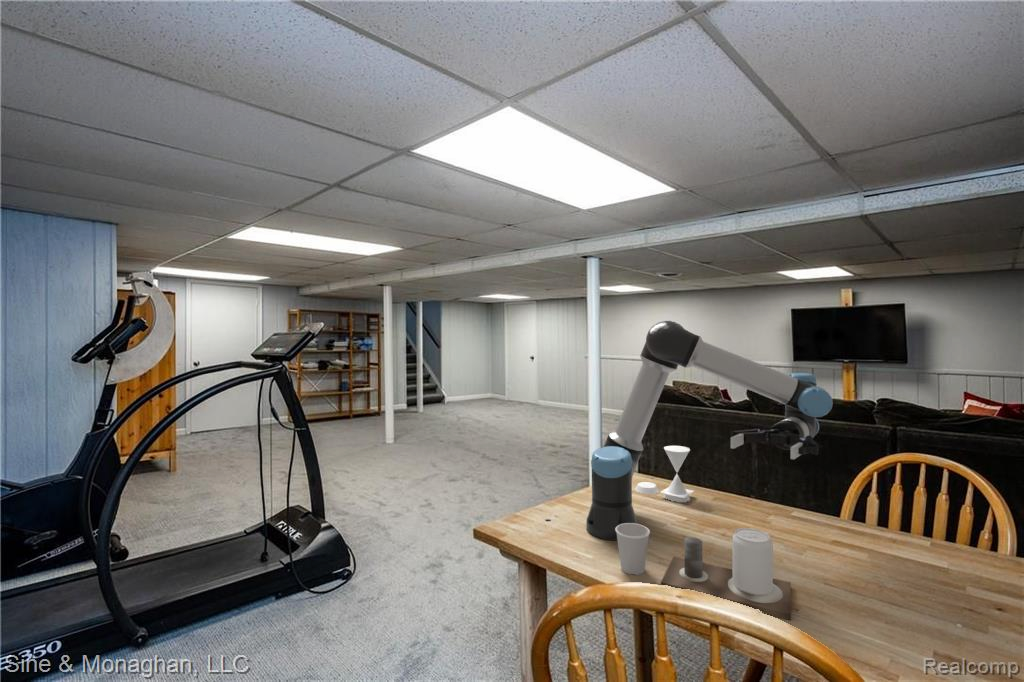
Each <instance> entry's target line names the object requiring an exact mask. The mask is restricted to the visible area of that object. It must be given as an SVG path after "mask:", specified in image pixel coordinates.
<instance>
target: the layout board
mask: <svg viewBox="0 0 1024 682" xmlns="http://www.w3.org/2000/svg"><path fill="white" fill-rule="evenodd" d="M683 541H684V549H683V550H684V558H683V557H678V556H673V557H672V559H671V561H670V563H669V565H668V567H667V569H666V571H665V573H664V575H663V577H662V579H661V581H660V586H661V585H668V586H671V587H675V588H681V589H690V590H695V591H698V592H703V593H706V594H710V595H713V596H716V597H720V598H723V599H727V600H730V601H733V602H737V603H740V604H743V605H746V606H749V607H752V608H754V609H759V610H760V611H762V612H764V613H767V614H766V615H768V614H769V615H768V616H773V617H776V618H780V619H784V620H788V621H791V620H792V612H791V611H792V599H791V598H792V588H791V587H792V582H790V581H787V580H783V579H778V578H773V590H772V591H771V592H770V593H768V594H764V595H754V594H750V593H747V592H744V591H742V590H740V589H739V588H737V587H736V586H735V585H734V583H733V580H732V568H729V567H723V566H719V565H714V564H709V563H705V562H703V561H704V560H703V540H701V539H700V538H697V537H685V538H684V540H683ZM764 613H763V614H764Z"/></svg>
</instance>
